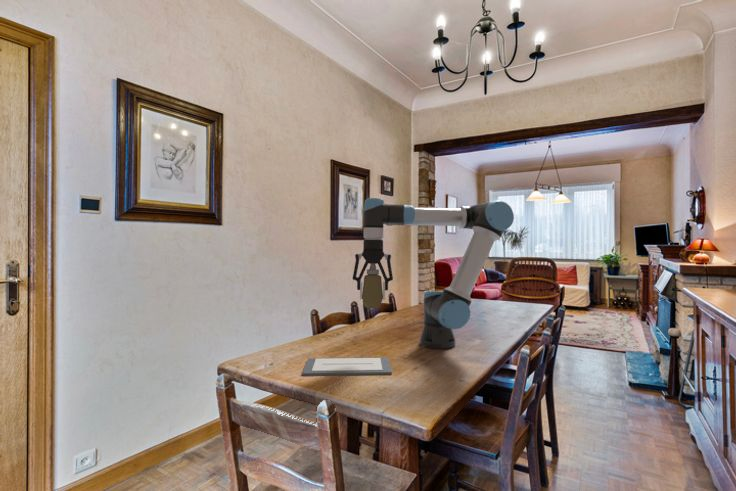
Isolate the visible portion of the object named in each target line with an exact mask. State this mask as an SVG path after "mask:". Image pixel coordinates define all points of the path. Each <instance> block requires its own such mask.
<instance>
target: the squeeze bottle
mask: <svg viewBox="0 0 736 491" xmlns="http://www.w3.org/2000/svg"><path fill="white" fill-rule="evenodd" d="M369 265H370V266H369V269H366V275H364V276H363V277H364V278H363V283H362V299H361V300H362V302H363V305H364V307H365V308H367V309H378V308H380V307H381V306H382V305H381V304H382V302H383V281H382V276H381V275H379V274H380V271H379V270H380V269H377V265H376V264H374V263H371V264H369Z"/></svg>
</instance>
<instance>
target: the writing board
mask: <svg viewBox="0 0 736 491" xmlns="http://www.w3.org/2000/svg"><path fill="white" fill-rule="evenodd" d="M392 373H393V371H392V368H391V365H390V360H389V357H388V356H387V357H385V356H383V357H379V356H378V357H374V356H373V357H317V358H316V357H312V358H311V357H309V358H307V360H306V363H305V366H304V368H303V370H302V373H301V375H302V376H308V377H309V376H362V375H363V376H365V375H366V376H372V375H380V376H381V375H384V376H385V375H392Z"/></svg>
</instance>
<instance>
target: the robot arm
mask: <svg viewBox="0 0 736 491" xmlns="http://www.w3.org/2000/svg"><path fill="white" fill-rule="evenodd" d="M363 204H364V207H363V238H364V239H363V249H362V253H355V255H354V257H355V264H354V268H353V274H352V280H354V281H356V288H357V291H359V300H362V293H363V280H362V278H363V277H364V276H363V275H364V273H365V271H366V270H367V267H368V265H371V263H374V264H375V265H376V264H377V265H378V267H379V270H380V272H381V274H382V277H383V279H384V281H382V293H383V299H382V301H384V300H385V299H386V291H388V290H389V282H392V281H394V278H393V270H392V265H391V259H392V254H388V253H387V254H386V253H385V252H384V240H383V238H384V225H385V226H387V227H388V226H389V227H390V226H391V227H392V226H421V227H422V226H433V227H434V226H436V227H441V226H442V227H444V226H445V227H448V226H449V227H458V228H460V229H467V230H472V231H473V234H472V237H471V238H470V241H469V243H468V245H467V248H466V250H465V252H464V254H463V256H462V258H461V261H460V263H459V266H458V267H457V270H456V271H455V274H454V276H453V278H452V281H451V283H450V285H449V286H448V287H445V288H444V289H443V290H436V291H435V290H434V291H433V290H431V291H430V290H429V291H425V292H424V294H423V328H422V331H421V333H420V337H419V345H421V346H422V347H424V348H429V349H437V350H439V349H440V350H441V349H442V350H444V349H445V350H446V349H450V348H454V347H455V346H456V338H455V334H454V332H453V330H458V329H461V328H463V327H465V326H466V325H467V324H468V323H469V321H470V319H471V309H470V306H471V303H472V302H473V301H472V297H471V294H472V292H473V290H474V287H475V285H476V283H477V281H478V278H479V276H480V274H481V273H482V269H483V267H484V265H485V263H486V260H487V258H488V256H489V254H490V251H491V249H492V248H493V245H494V243H495V242H496V241H498V240H500V239H501V237H502V235H503V232H504V231H506V230H508V229H509V228H510V227H511V226H512V225H513V223H514V219H515V218H514V216H515V214H514V212H513V209H512V206H510V205H509V204H508V203H507V202H505V201H502V200H491V201H490V202H483V203H478V204H474V205H473V204H472V205H467V206H466V205H461V206H459V208H454V207H453V208H451V207H450V208H447V207H446V208H444V207H443V208H442V207H438V208H436V207H414V205H410V204H388V203H385V199H383V198H379V197H368V198H366V199H365V200H364V203H363ZM361 258H363V259H364V260H365V262H364V264H363V266H362V268H361V270H360V273H359V275H358V276H357V274H358V270H359V264H360V260H361ZM383 258H384V259H385V260H386V263H387V264H386V265H387V272H388V276H387V274H386V272H385V268H384V267H383V264H382V262H381V261H382V259H383ZM361 280H362V281H361Z"/></svg>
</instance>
